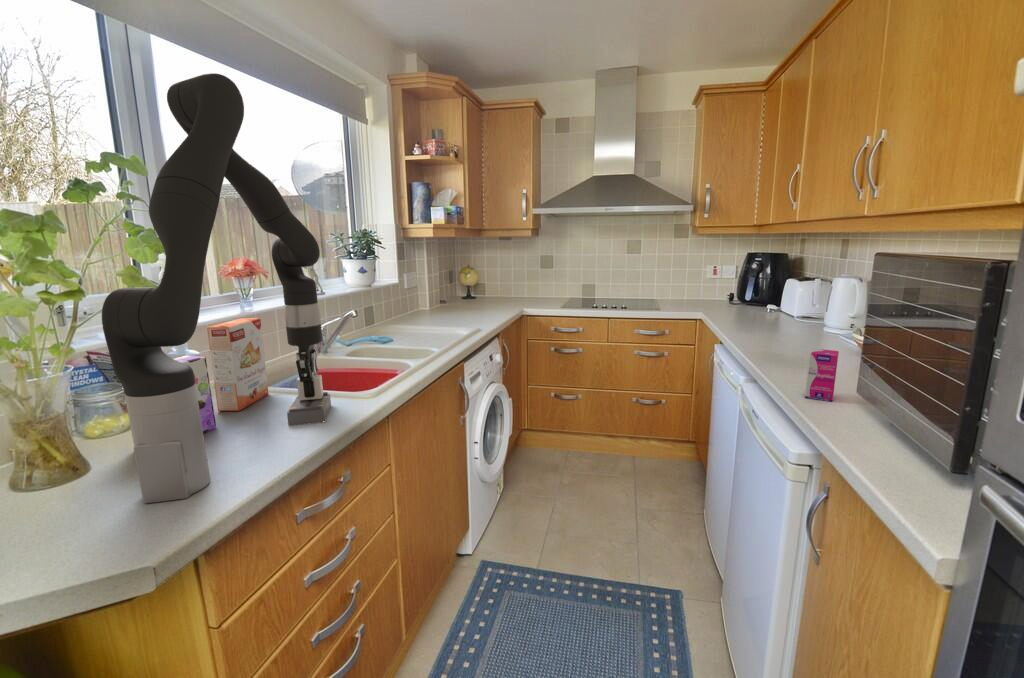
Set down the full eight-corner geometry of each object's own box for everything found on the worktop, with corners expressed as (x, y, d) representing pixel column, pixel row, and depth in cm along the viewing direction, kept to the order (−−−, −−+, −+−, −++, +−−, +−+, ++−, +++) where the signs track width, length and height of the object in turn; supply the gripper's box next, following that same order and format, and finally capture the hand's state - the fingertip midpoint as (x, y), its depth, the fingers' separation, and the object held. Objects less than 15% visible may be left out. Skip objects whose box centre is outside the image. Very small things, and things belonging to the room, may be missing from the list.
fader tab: (321, 398, 115) (319, 378, 114) (299, 400, 114) (296, 379, 113) (323, 394, 118) (321, 374, 117) (301, 396, 117) (299, 376, 116)
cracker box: (241, 411, 117) (229, 326, 113) (216, 412, 118) (204, 326, 113) (270, 393, 131) (261, 317, 127) (248, 394, 131) (238, 317, 127)
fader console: (324, 422, 109) (323, 406, 109) (288, 425, 108) (286, 410, 107) (331, 405, 120) (329, 391, 120) (298, 408, 119) (296, 394, 118)
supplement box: (804, 398, 118) (808, 352, 116) (806, 392, 123) (810, 347, 121) (832, 402, 115) (838, 355, 113) (833, 395, 120) (838, 350, 117)
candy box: (155, 454, 94) (140, 372, 91) (133, 450, 96) (118, 370, 93) (217, 428, 107) (207, 355, 104) (198, 425, 109) (186, 353, 106)
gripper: (316, 327, 107) (323, 402, 110) (324, 317, 120) (331, 385, 124) (279, 329, 105) (288, 405, 109) (292, 319, 119) (299, 387, 122)
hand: (311, 394), depth 116 cm, fingers closed on fader tab, 3 cm apart
